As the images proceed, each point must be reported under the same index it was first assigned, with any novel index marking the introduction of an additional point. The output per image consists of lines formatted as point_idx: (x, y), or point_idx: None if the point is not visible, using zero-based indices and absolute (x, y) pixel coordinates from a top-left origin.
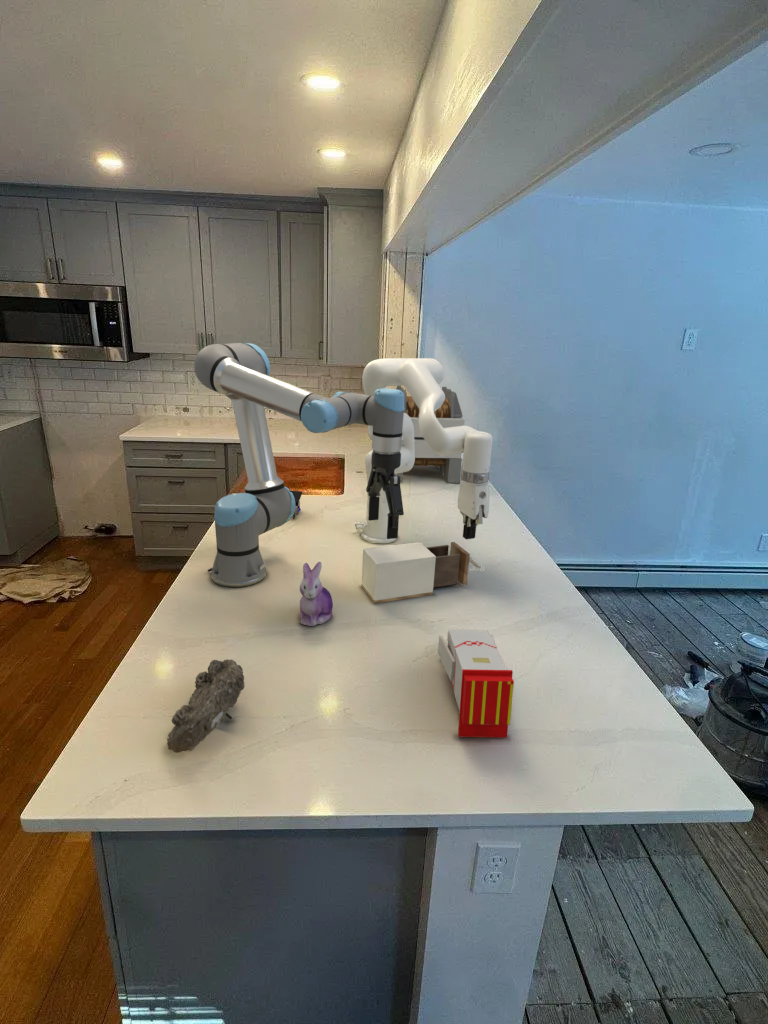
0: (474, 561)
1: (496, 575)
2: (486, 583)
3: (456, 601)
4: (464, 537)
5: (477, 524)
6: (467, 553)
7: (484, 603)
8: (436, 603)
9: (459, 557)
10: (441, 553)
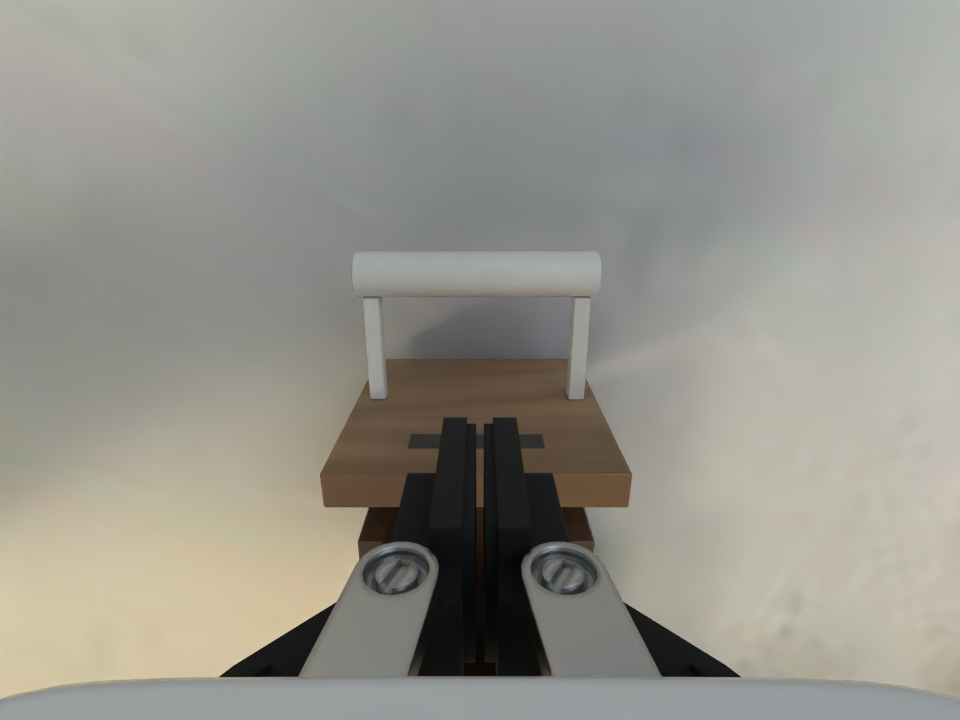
0: (488, 288)
1: (477, 41)
2: (563, 194)
3: (682, 470)
4: (476, 530)
5: (610, 578)
6: (613, 489)
7: (771, 346)
8: (657, 559)
9: (590, 529)
10: None
